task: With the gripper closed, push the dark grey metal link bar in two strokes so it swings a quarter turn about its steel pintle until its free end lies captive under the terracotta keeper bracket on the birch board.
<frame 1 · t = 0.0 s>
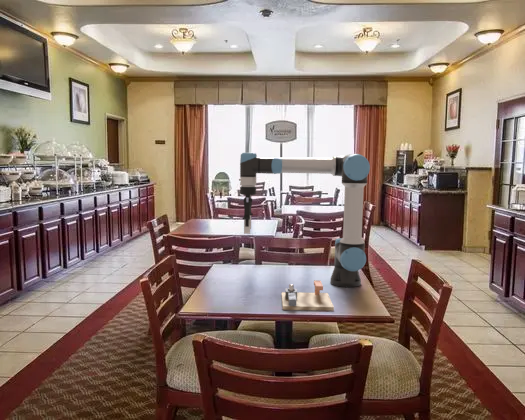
hand: (247, 231, 218), 28 cm above the table, fingers open, 13 cm apart
link: (291, 296, 199), point 3 cm above the table, hinge at 0.0°
keeper: (317, 299, 206), resting on board
pintle: (291, 300, 204), resting on board
board: (306, 302, 201), on the table
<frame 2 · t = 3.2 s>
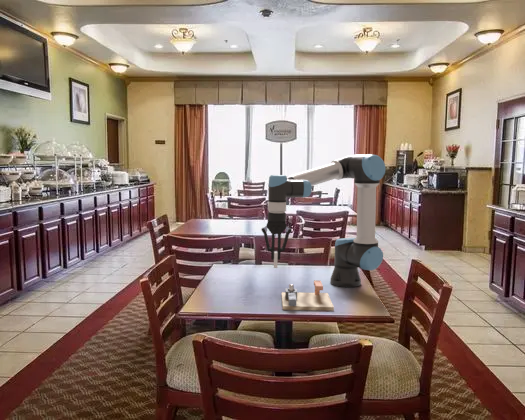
hand: (275, 267, 197), 16 cm above the table, fingers closed
nothing on the table moved.
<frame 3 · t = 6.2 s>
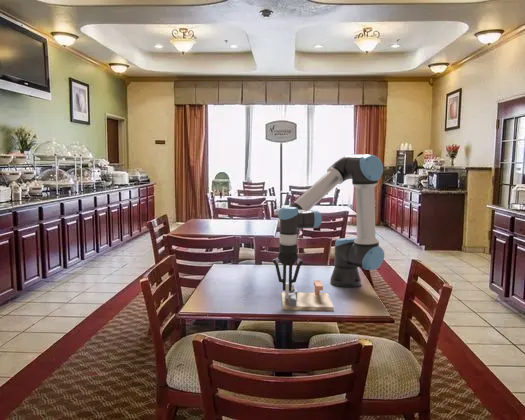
hand: (286, 297, 198), 3 cm above the table, fingers closed
link: (291, 296, 199), point 3 cm above the table, hinge at 0.4°, touching gripper
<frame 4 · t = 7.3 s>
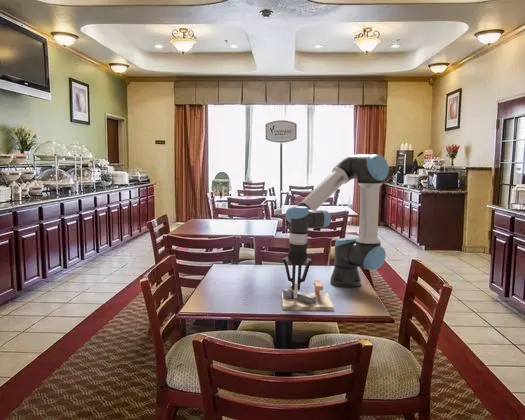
hand: (295, 297, 198), 3 cm above the table, fingers closed
link: (300, 296, 200), point 3 cm above the table, hinge at 43.8°, touching gripper
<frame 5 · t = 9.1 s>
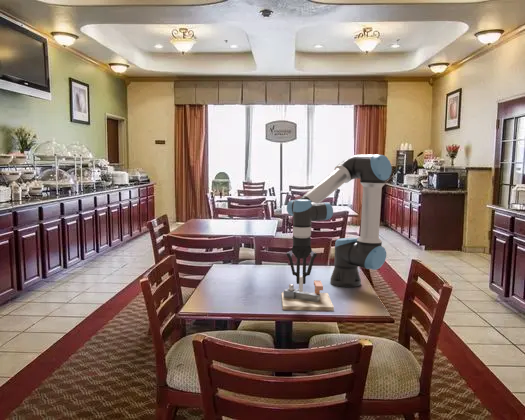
hand: (300, 291, 197), 6 cm above the table, fingers closed
link: (302, 295, 202), point 3 cm above the table, hinge at 62.0°
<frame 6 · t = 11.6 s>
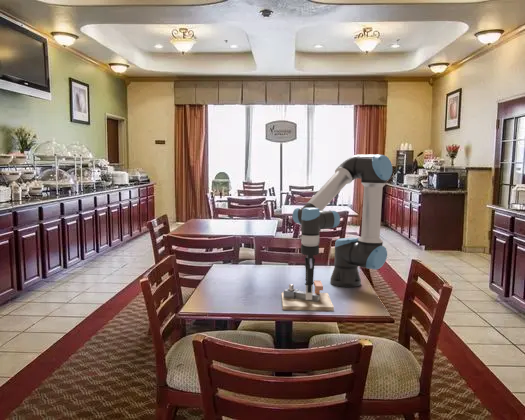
hand: (308, 299, 197), 3 cm above the table, fingers closed
link: (302, 295, 202), point 3 cm above the table, hinge at 62.3°, touching gripper
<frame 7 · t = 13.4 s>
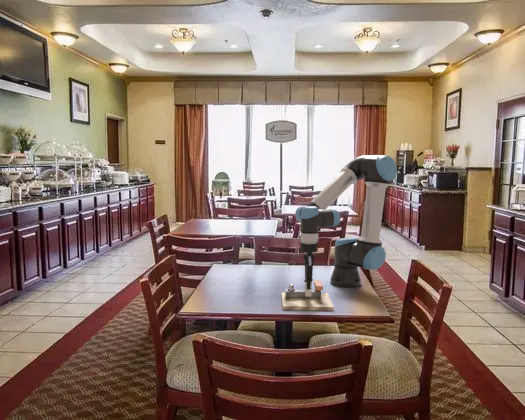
hand: (308, 295, 201), 3 cm above the table, fingers closed
link: (303, 293, 204), point 3 cm above the table, hinge at 87.2°, touching gripper
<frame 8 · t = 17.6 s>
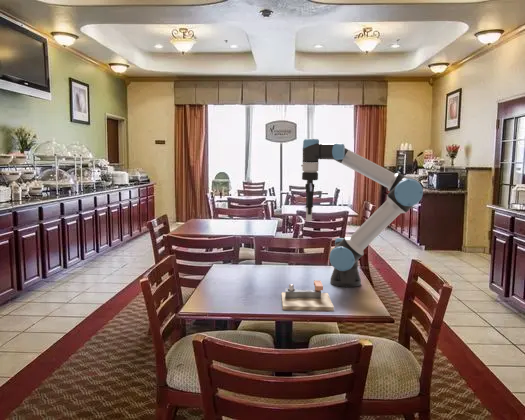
hand: (308, 220, 223), 32 cm above the table, fingers closed
link: (303, 293, 204), point 3 cm above the table, hinge at 87.2°
at the end: link at +87° (first picture: +0°); link touching nothing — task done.
